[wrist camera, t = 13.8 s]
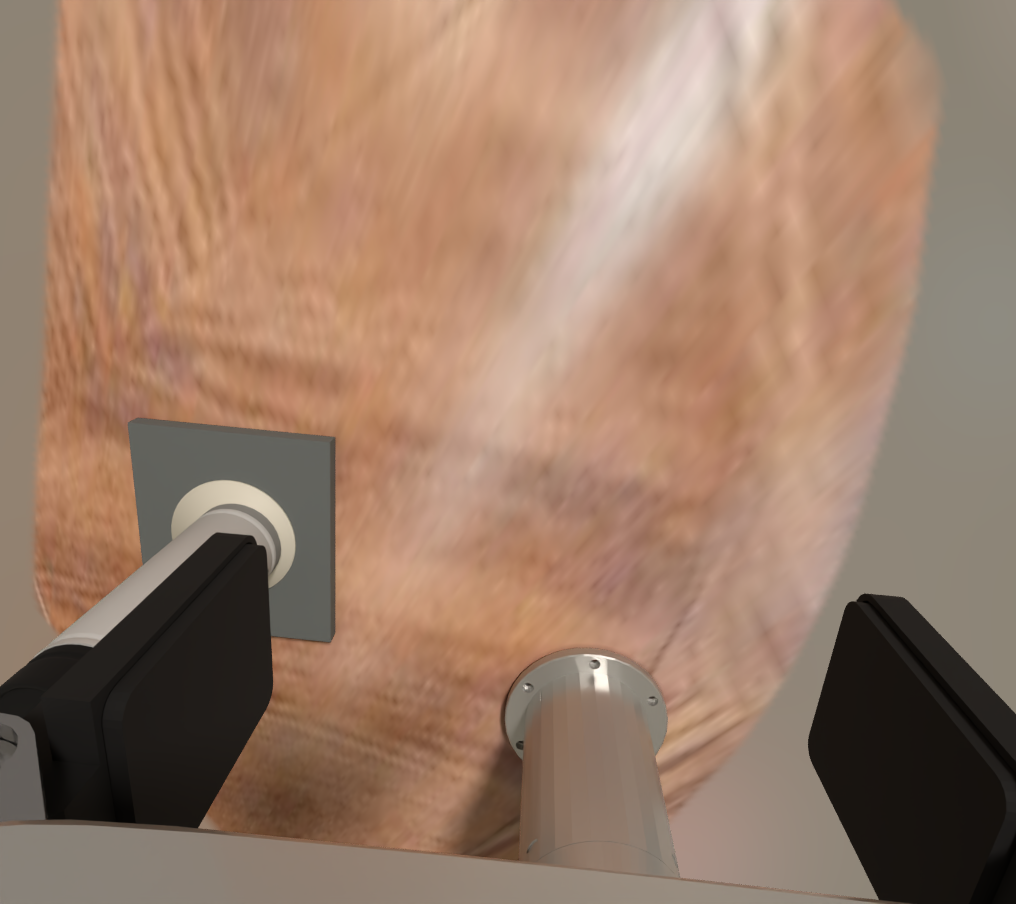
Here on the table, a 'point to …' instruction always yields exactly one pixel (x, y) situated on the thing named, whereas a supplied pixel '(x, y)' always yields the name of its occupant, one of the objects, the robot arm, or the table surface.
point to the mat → (247, 504)
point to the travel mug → (130, 602)
